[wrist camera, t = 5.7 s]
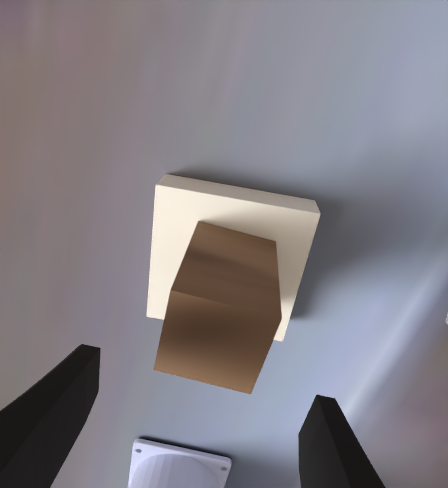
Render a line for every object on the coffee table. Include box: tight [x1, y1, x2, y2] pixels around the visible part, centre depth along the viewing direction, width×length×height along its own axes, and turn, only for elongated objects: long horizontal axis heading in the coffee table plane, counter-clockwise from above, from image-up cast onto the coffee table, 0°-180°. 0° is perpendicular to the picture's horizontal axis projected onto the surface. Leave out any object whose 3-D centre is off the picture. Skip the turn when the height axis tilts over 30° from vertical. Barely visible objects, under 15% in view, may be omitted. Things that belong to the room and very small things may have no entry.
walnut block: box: [154, 221, 282, 394], centre depth 16 cm, size 4×4×6 cm
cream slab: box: [147, 174, 321, 341], centre depth 20 cm, size 8×8×2 cm
